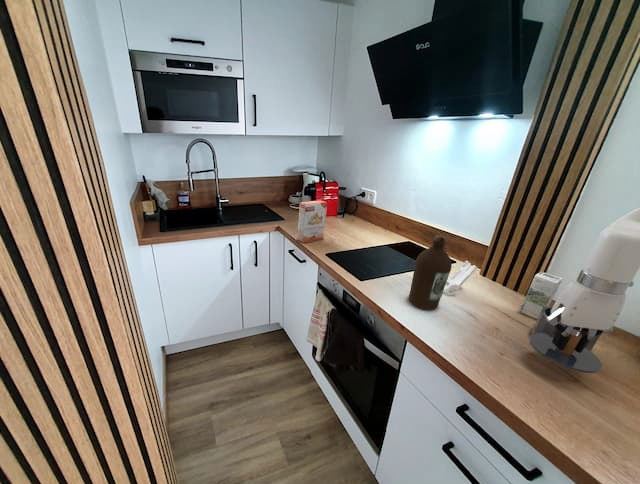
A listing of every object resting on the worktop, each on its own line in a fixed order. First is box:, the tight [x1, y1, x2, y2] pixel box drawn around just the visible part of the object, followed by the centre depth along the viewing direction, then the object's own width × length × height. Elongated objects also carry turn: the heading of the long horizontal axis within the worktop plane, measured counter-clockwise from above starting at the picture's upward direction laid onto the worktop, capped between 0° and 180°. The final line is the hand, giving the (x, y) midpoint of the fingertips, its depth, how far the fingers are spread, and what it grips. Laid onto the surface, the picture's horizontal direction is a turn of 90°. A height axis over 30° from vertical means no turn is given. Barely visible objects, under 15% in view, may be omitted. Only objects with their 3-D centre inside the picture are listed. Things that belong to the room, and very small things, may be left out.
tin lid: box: [528, 329, 604, 374], centre depth 70 cm, size 13×13×7 cm
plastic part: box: [443, 260, 478, 296], centre depth 107 cm, size 8×10×12 cm
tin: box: [530, 306, 602, 352], centre depth 81 cm, size 12×12×8 cm
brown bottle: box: [408, 234, 452, 311], centre depth 95 cm, size 11×11×25 cm
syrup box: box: [519, 271, 563, 321], centre depth 93 cm, size 6×6×14 cm
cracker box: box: [297, 200, 328, 244], centre depth 152 cm, size 14×6×21 cm, turn 120°
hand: (566, 346), depth 70 cm, fingers closed on tin lid, 3 cm apart
